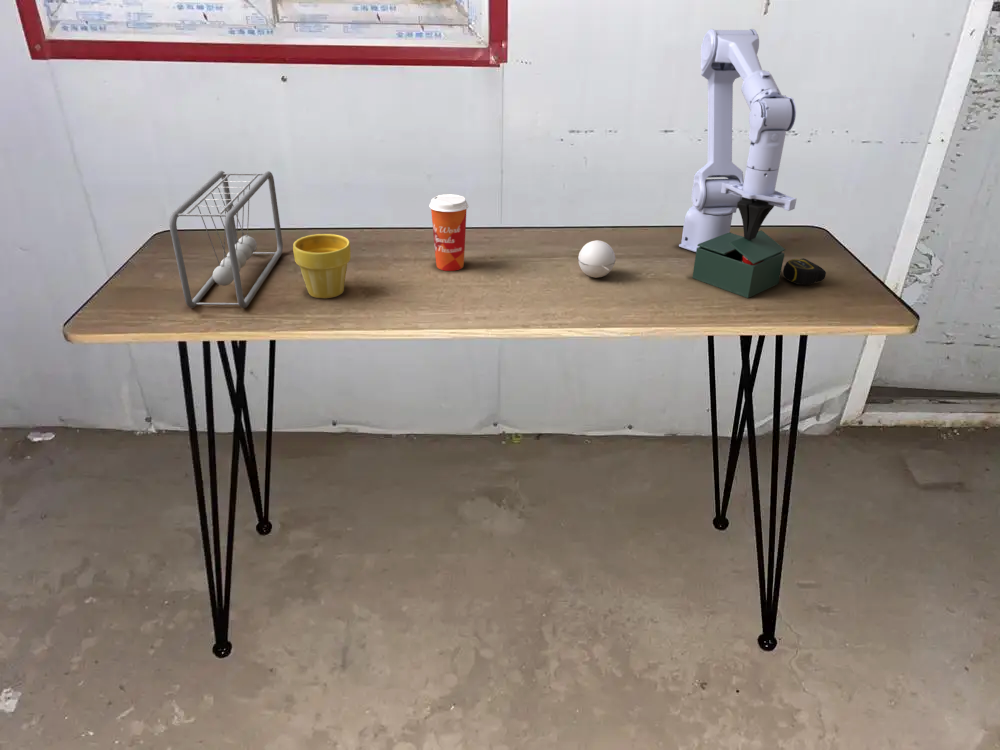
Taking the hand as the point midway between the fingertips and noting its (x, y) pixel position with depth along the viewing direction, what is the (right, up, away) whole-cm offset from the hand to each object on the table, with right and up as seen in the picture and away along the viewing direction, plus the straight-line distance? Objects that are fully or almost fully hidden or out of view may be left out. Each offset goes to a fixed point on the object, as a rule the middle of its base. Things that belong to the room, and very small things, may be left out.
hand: (749, 237), depth 148 cm
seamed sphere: (-29, -7, +6) cm, 30 cm away
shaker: (+1, -8, +3) cm, 9 cm away
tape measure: (+12, -8, +6) cm, 16 cm away
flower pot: (-81, -11, -1) cm, 82 cm away
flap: (+1, -2, -1) cm, 2 cm away
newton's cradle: (-99, -8, +3) cm, 99 cm away
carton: (-1, -8, +6) cm, 10 cm away
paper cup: (-58, -4, +11) cm, 59 cm away
